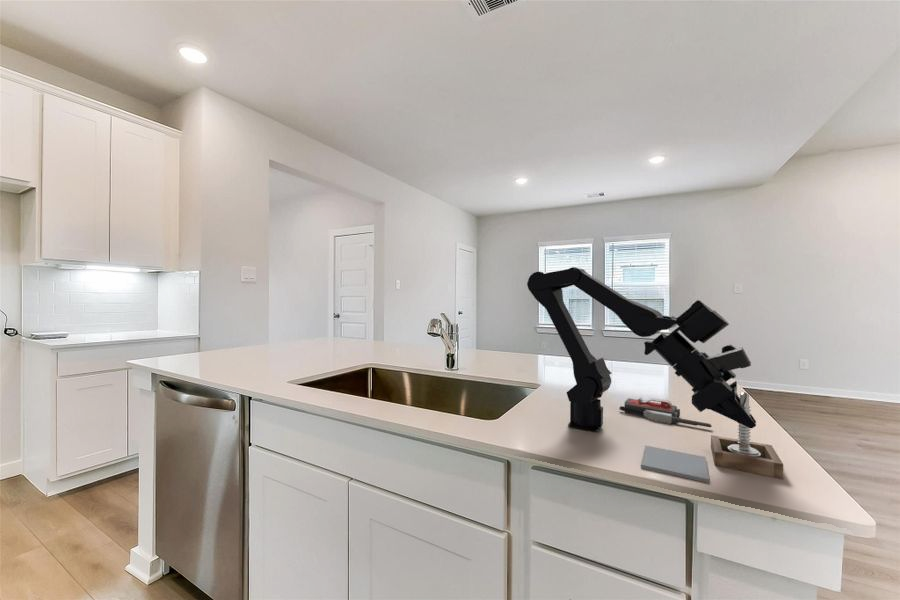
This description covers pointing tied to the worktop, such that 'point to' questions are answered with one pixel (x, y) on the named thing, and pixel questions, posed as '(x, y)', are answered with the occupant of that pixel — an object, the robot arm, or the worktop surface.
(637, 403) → the walkie-talkie
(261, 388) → the worktop surface
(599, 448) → the worktop surface
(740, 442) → the screw
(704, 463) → the mat
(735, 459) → the square wooden frame
